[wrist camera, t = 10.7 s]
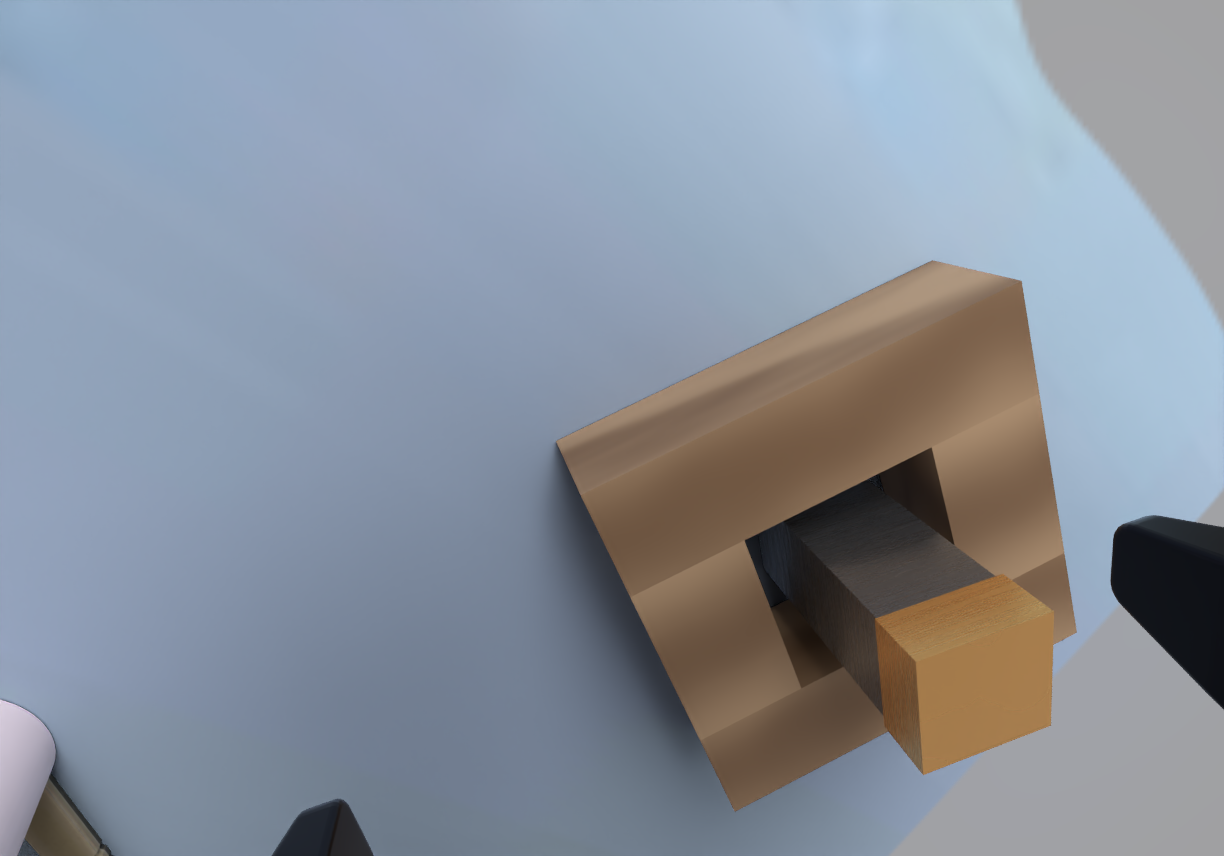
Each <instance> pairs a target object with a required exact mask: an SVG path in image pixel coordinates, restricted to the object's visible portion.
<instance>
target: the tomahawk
mask: <svg viewBox="0 0 1224 856" xmlns="http://www.w3.org/2000/svg"><path fill="white" fill-rule="evenodd" d="M24 839H25V840H26V841H27V842H28V843H29V844H30V845H31V846H32V847H33V849H34V850H35V851H36V852H37V853H38V854H39V855H40V856H113V855H110V849H109V848H108V847H107V846H106V845H104V844H102V843H101V841H102V840H101V838H100V837H99V836H98V834H97V833H96V832H95V830H94V829H93V828H92V827H91V825H90V824H89V823H88V821H87V820H86V819H85V817H84V816H83V815H82V814H81V812H80V811H79V810H78V808H77V807H76V806H75V804H74V803H73V802H72V801H71V799H70V798H69V797H68V795H67V794H66V793H65V791H64V790H63V789H62V788H61V786H60V785H59V784H58V782H57V781H56V780H55V778H54V777H53V776H52V775H51V773H50V776H49V778H48V781H47V783H46V786H45V788H44V791H43V793H42V796H41V798H40V801H39V803H38V806H37V808H36V811H35V813H34V816H33V818H32V821H31V823H30V826H29V828H28V831H27V833H26V836H25V838H24Z"/></svg>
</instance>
